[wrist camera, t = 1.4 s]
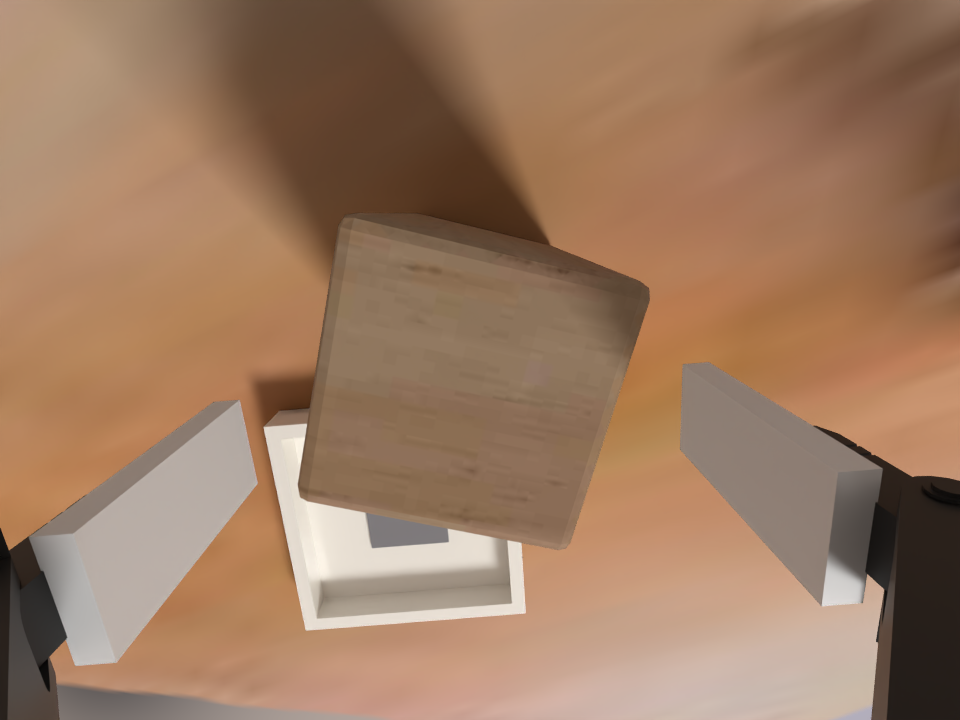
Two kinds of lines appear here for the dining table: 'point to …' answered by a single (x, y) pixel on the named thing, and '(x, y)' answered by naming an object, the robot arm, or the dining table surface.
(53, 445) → the dining table surface
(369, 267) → the wooden block
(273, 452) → the dish
